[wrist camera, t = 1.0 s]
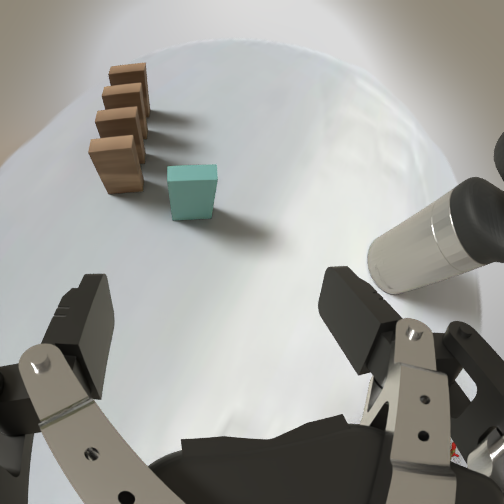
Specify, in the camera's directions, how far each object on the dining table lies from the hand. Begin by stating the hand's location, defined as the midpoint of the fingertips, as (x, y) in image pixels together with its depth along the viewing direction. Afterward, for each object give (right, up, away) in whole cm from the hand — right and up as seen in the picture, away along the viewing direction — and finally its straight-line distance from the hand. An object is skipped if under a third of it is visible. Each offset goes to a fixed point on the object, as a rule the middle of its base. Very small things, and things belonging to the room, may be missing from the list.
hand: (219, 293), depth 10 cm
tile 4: (-17, +19, +29) cm, 39 cm away
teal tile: (-7, +6, +28) cm, 29 cm away
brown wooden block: (-17, +23, +31) cm, 42 cm away
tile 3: (-16, +15, +28) cm, 36 cm away
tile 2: (-16, +10, +27) cm, 33 cm away
